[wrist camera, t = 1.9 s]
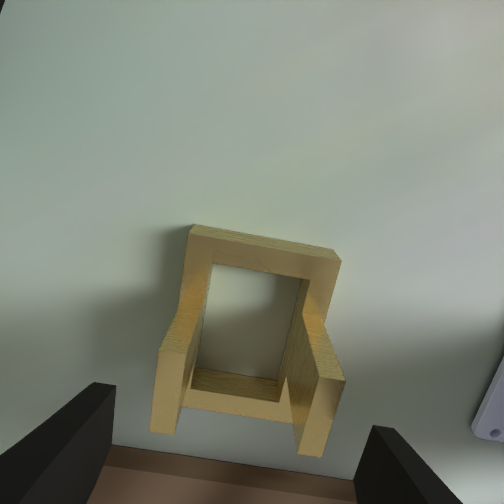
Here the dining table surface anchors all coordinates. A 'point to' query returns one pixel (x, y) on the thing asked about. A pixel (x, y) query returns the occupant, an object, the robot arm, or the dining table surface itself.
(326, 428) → the collar
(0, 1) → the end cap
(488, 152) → the dining table surface
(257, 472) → the post board
